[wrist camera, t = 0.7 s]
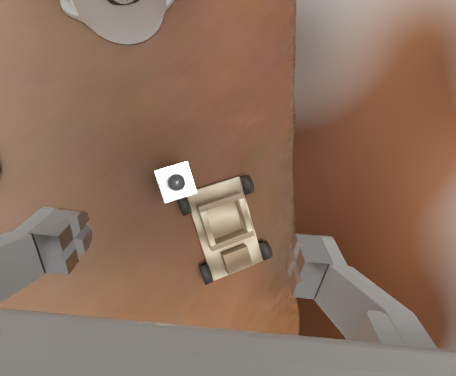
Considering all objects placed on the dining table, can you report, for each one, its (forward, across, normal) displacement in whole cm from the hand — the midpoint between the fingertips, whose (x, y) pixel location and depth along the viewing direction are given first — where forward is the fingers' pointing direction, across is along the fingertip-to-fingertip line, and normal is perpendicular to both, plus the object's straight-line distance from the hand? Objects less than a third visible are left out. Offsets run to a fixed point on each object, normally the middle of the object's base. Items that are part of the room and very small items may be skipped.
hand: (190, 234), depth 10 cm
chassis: (+33, -3, +25) cm, 41 cm away
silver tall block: (+34, +8, +16) cm, 39 cm away
